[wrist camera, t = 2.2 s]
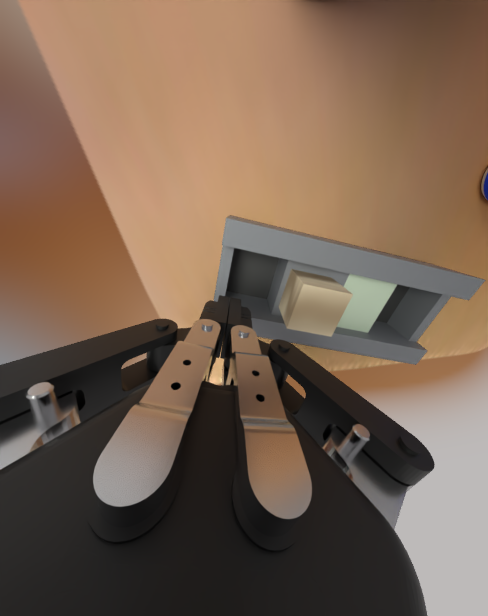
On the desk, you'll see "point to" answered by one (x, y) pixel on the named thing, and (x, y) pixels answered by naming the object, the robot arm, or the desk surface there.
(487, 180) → the blue cylinder
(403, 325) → the box
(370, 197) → the desk surface
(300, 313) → the birch block
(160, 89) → the desk surface
